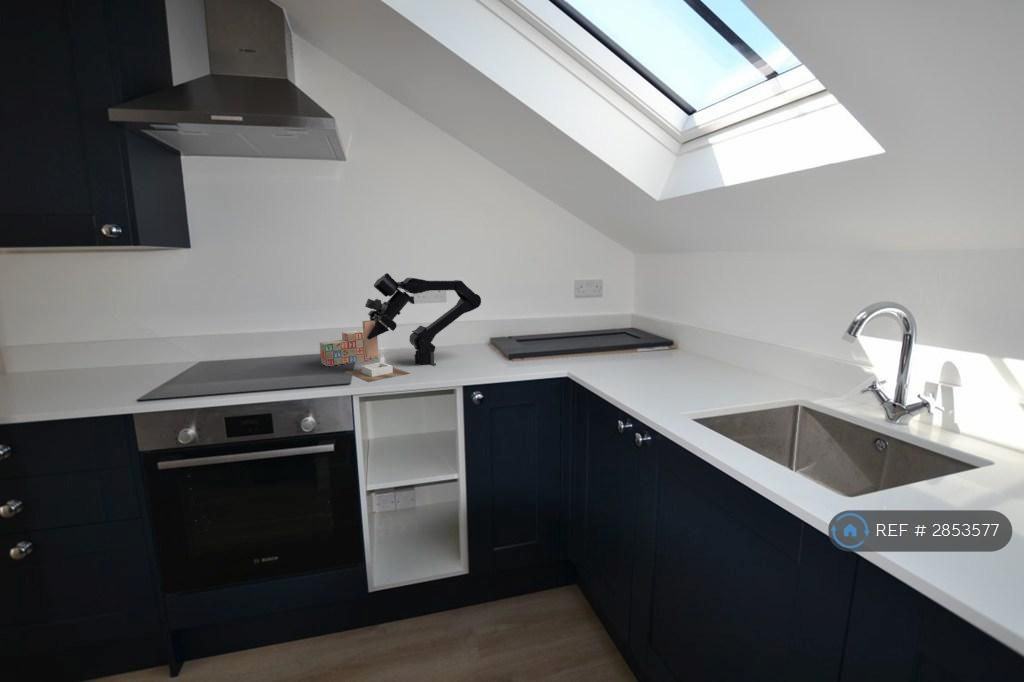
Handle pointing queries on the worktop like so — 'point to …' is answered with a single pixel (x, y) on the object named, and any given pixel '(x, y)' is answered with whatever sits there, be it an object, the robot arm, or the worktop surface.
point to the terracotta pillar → (371, 344)
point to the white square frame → (377, 369)
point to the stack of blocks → (345, 349)
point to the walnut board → (368, 378)
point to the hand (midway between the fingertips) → (366, 337)
